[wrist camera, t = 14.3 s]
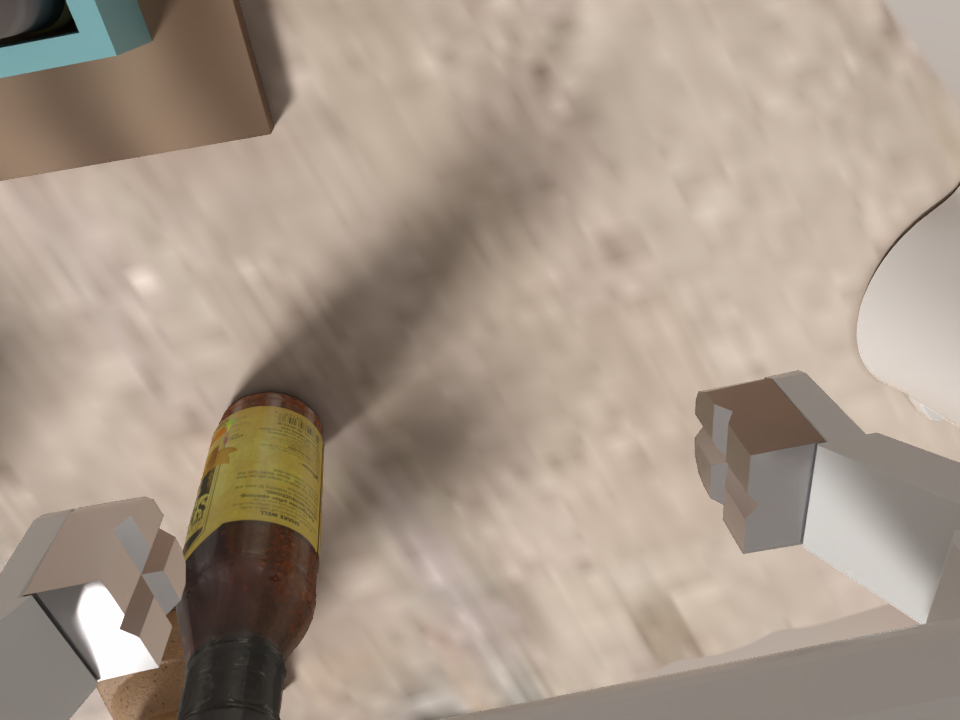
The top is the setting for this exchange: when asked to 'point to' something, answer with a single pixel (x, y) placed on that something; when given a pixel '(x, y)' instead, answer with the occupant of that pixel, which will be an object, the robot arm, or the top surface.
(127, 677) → the candle holder
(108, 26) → the teal collar
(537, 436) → the top surface
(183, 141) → the post stand
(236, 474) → the sauce bottle
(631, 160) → the top surface
